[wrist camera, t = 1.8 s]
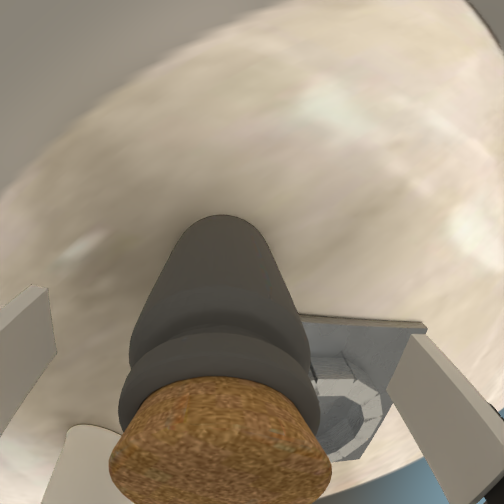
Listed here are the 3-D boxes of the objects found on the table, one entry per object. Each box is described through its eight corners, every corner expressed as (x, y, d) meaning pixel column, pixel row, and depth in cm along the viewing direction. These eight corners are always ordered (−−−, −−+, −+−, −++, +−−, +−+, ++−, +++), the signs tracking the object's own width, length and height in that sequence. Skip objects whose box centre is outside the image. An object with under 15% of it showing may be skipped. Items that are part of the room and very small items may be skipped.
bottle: (232, 193, 18) (252, 338, 4) (288, 269, 20) (392, 480, 6) (155, 252, 19) (35, 454, 5) (214, 320, 20) (207, 546, 6)
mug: (145, 415, 23) (119, 537, 11) (189, 467, 25) (184, 570, 14) (51, 425, 23) (11, 514, 12) (98, 473, 26) (76, 556, 14)
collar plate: (198, 453, 25) (197, 482, 21) (215, 305, 20) (214, 334, 17) (356, 452, 26) (366, 476, 23) (421, 322, 22) (444, 344, 19)
